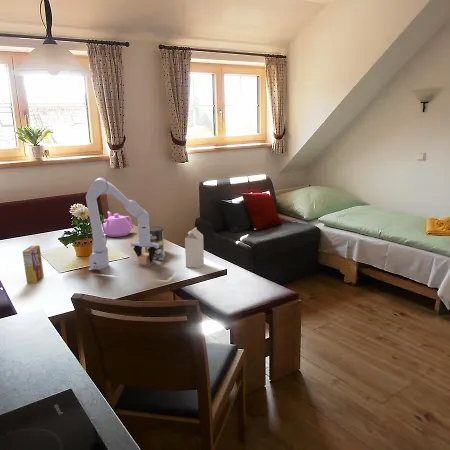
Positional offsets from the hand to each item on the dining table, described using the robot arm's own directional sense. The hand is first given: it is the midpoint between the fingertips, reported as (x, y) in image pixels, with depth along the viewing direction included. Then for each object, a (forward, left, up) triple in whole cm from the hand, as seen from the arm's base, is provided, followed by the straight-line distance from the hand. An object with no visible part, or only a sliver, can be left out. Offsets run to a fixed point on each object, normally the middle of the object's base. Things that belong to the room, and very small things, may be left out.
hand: (145, 260), depth 212 cm
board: (+2, 0, -2) cm, 3 cm away
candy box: (-33, +39, -2) cm, 51 cm away
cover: (0, 0, -1) cm, 1 cm away
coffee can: (+18, +3, -2) cm, 18 cm away
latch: (+5, -5, -1) cm, 7 cm away
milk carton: (+4, -25, -2) cm, 25 cm away
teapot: (+51, +45, -2) cm, 68 cm away
